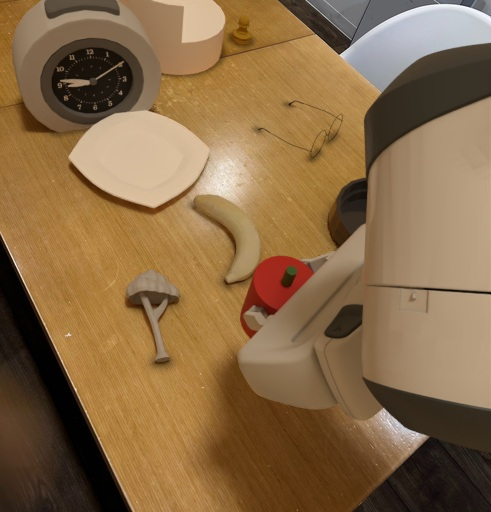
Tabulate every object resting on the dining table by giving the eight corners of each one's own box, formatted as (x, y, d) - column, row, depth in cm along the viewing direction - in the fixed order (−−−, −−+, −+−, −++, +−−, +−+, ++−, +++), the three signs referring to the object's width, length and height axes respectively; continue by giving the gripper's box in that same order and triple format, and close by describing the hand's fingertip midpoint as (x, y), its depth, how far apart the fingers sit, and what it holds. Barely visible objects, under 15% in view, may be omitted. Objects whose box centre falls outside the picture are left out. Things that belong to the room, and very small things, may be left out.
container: (230, 75, 97) (241, 8, 86) (125, 74, 92) (123, 3, 81) (211, 18, 108) (218, -47, 97) (116, 15, 102) (113, -55, 92)
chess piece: (229, 34, 105) (232, 11, 101) (246, 33, 106) (250, 11, 102) (235, 45, 103) (239, 22, 99) (252, 44, 104) (257, 21, 100)
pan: (437, 238, 80) (450, 220, 77) (385, 289, 73) (398, 272, 69) (364, 183, 85) (373, 164, 82) (308, 225, 77) (316, 206, 74)
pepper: (310, 326, 50) (339, 277, 43) (267, 358, 47) (291, 313, 40) (270, 284, 52) (292, 232, 45) (227, 313, 49) (243, 262, 42)
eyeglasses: (254, 132, 88) (259, 109, 84) (291, 102, 95) (297, 79, 91) (306, 164, 85) (315, 142, 81) (340, 131, 92) (350, 109, 88)
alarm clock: (30, 135, 79) (1, 15, 63) (23, 105, 82) (-6, -16, 67) (160, 119, 86) (164, 8, 70) (148, 92, 90) (150, -19, 74)
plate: (224, 156, 83) (225, 148, 82) (156, 229, 72) (156, 221, 71) (130, 105, 86) (130, 95, 84) (51, 167, 75) (49, 158, 73)
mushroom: (140, 355, 56) (128, 262, 61) (130, 368, 60) (119, 278, 65) (197, 350, 60) (180, 262, 65) (184, 362, 63) (169, 278, 68)
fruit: (234, 197, 78) (237, 182, 76) (272, 274, 71) (277, 260, 68) (191, 206, 76) (192, 191, 73) (226, 286, 68) (229, 273, 66)
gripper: (456, 197, 40) (323, 207, 51) (316, 367, 29) (184, 335, 40) (474, 261, 43) (344, 258, 53) (351, 441, 32) (217, 392, 42)
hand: (274, 292), depth 46 cm, fingers closed on pepper, 6 cm apart
